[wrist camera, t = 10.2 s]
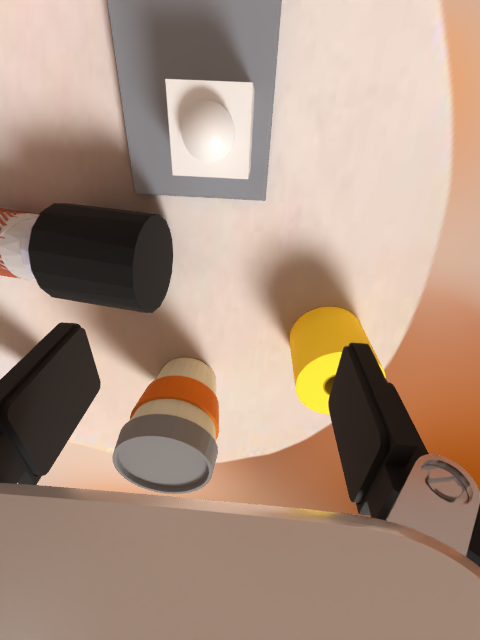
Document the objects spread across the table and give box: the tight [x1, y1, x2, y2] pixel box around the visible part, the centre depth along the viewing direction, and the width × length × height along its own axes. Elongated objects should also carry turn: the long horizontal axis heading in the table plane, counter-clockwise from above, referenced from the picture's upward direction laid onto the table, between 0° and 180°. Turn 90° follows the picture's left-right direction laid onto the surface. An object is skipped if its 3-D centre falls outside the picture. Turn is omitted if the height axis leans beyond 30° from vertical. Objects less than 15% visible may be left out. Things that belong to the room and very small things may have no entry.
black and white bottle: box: [0, 203, 173, 313], centre depth 33 cm, size 10×34×10 cm
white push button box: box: [165, 79, 255, 179], centre depth 26 cm, size 6×6×7 cm
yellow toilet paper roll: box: [289, 307, 386, 415], centre depth 38 cm, size 10×10×9 cm
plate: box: [107, 0, 282, 201], centre depth 27 cm, size 20×14×1 cm
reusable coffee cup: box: [113, 357, 219, 494], centre depth 42 cm, size 12×13×15 cm
